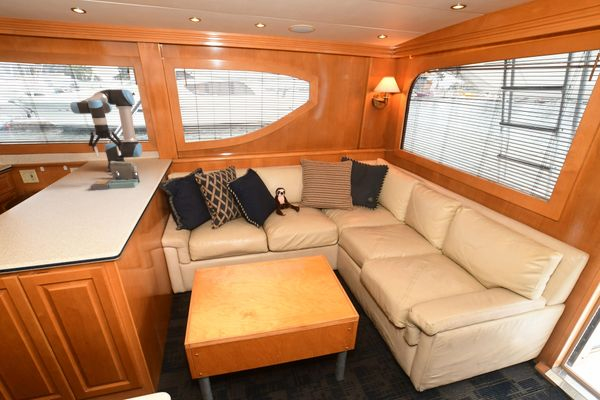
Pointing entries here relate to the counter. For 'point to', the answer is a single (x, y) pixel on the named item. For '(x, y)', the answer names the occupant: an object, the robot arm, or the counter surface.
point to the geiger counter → (123, 169)
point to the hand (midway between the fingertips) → (109, 155)
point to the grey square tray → (101, 186)
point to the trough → (123, 184)
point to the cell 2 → (135, 175)
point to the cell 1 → (117, 175)
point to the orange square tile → (101, 182)
